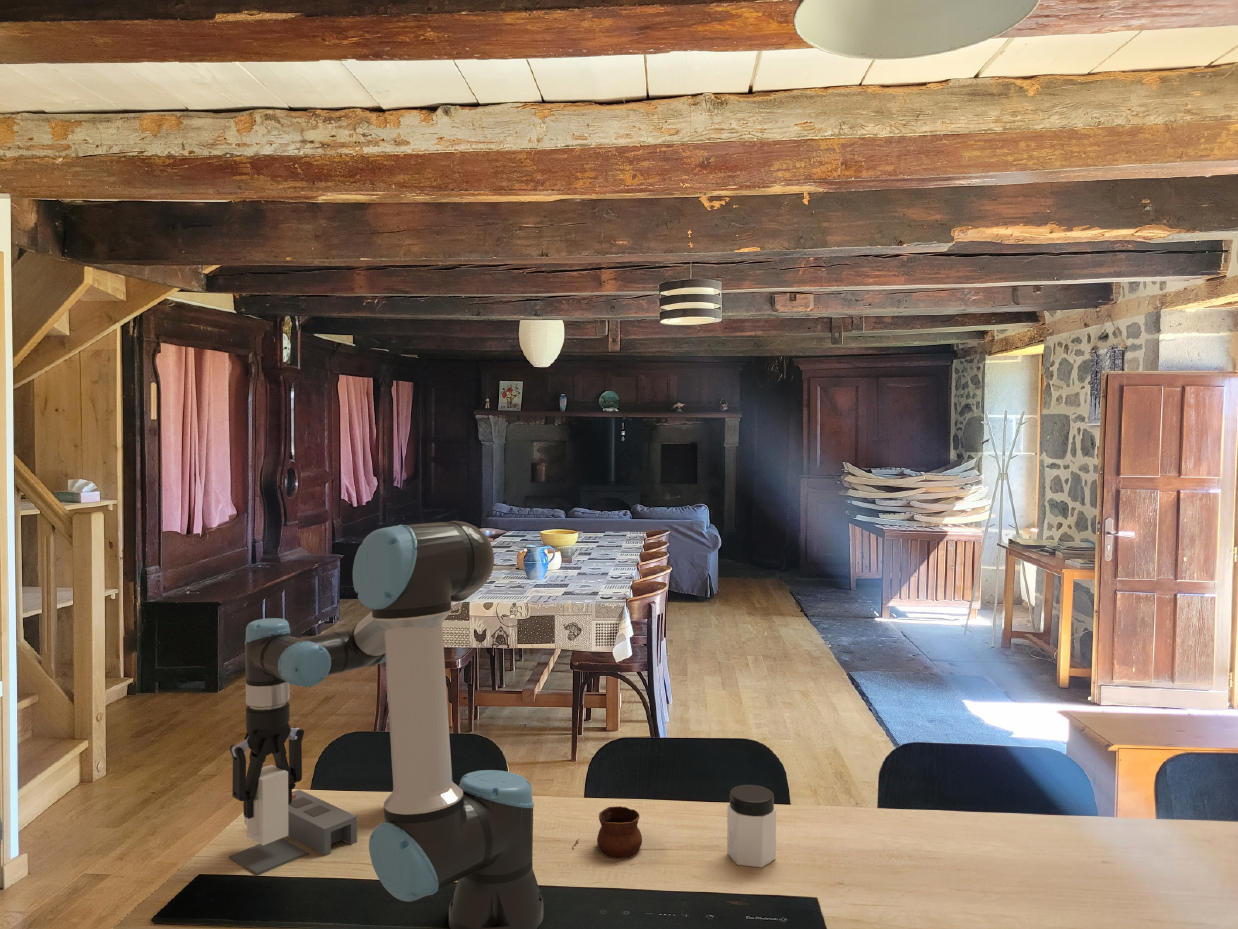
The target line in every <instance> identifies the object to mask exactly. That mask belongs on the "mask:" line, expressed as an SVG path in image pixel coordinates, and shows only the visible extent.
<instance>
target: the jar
mask: <svg viewBox="0 0 1238 929" xmlns="http://www.w3.org/2000/svg"><path fill="white" fill-rule="evenodd" d="M728 798H729V803H728V804H727V813H726V814H727V818H726V819H727V820H726V821H727V822H726V823H727V825H726V826H727V830H726V831H727V834H726V835H727V836H726V840H727V841H726V853H727V855H728V856H729V857H730V858H731V859H732V861H734V863H735V864H736V865H737V866H743V867H744V866H745V867H751V868H752V867H753V868H761V869H762V868H764V867H766V866H767V865H768V864H770V863H771V862H773V861H774V860H776V858H777V857H776V854H777V853H776V852H777V851H776V850H777V847H776V846H777V809H776V808H775V803H774V802H775V795H774V792H773V791H772V790H771V789H769V788H767V787H765V786H761V785H756V784H741V785H737V786H734V787H733V788H731V790H730V792H729V797H728Z"/></svg>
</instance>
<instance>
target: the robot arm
mask: <svg viewBox="0 0 1238 929" xmlns="http://www.w3.org/2000/svg"><path fill="white" fill-rule="evenodd" d="M494 553H495V552H494V549H493V545H492V543H491V541H490V540H489V537H488V536H487V535H486V534H485V533H484V532H483V531H482V530H481V529H480V528H478V527H477V526H475V525H473V524H470V523H468V522H465V521H458V520H449V521H448V520H447V521H442V522H441V521H439V522H429V523H415V524H398V525H392V526H388V527H383V528H382V527H381V528H378V529H376V530H373V531H371V532H370V533H369V534H368V535H366V537H365V538H364V539H363V540H362V543H361V544H360V545H359V547H358V549H357V551H356V554H355V556H354V561H353V565H352V567H353V568H352V583H353V589H354V592H355V593H356V594H357V599H358V602H360V604H362V605H363V606H364V607H365V608H368V609H370V610H371V611H370V612H369V613H368V614H367V615H366V616H365V617H363V618H362V619H361V620H360V621H359V622H357V623H356V624H355V625H354V626H352V627H350V628H347V629H344V630H338V631H333V632H327V633H323V634H317V635H312V636H308V637H302V638H301V637H294V636H292V635H291V630H290V629H291V627H290V624H289V622H288V620H286V619H285V618H278V617H277V618H276V617H274V618H273V617H272V618H271V617H270V618H260V619H256V620H253V621H251V622H249V623H248V624H247V625H246V628H245V641H244V647H245V648H244V653H245V654H244V656H245V658H244V659H245V704H246V708H245V727H246V733H245V736H244V738H243V741H241V742H239V743H237V744H231V745H230V747H229V752H230V754H231V756H232V789H231V790H232V793H231V794H232V798H233V799H236V800H237V801H240V802H242V803H243V816H244V817H246V818H248V832H249V833H250V834H252V835H254V836H258V835H259V799H257V798H255V796H256V792H257V787H258V783H259V778H260V774H261V770H262V768H263V765H264V763H265V761H266V757H268V756H269V755H271V754H272V757H273V759H274V764H275V766H276V767H277V768H279V769H282V770H285V771H287V772H288V804H291V802H292V792H293V790H294V789H295V788H296V783H299V782H301V781H302V780H303V764H302V762H303V760H302V759H303V756H302V754H303V753H302V751H303V749H302V747H303V746H302V743H303V739H304V734H305V730H304V729H302V728H299V727H297V726H293V727H291V726H290V720H291V717H290V716H291V715H290V713H291V712H290V706H291V705H290V703H289V700H290V698H291V691H290V689H291V688H290V687H291V686H290V685H292V686H294V685H295V686H296V687H303V688H312V687H315V686H316V685H319V683H321V682H322V681H324V680H326V678H327V677H330V676H333V675H334V676H335V675H337V674H340V673H345V672H350V671H354V670H358V669H364V668H370V667H374V666H377V665H380V664H382V663H385V669H386V670H385V672H386V687H387V688H386V690H387V705H388V722H389V737H390V753H391V754H390V755H391V756H390V757H391V769H392V770H391V771H392V792H391V793H389V795H388V796H387V797H386V799H385V800H384V802H383V816H384V821H382V822H380V823H379V824H377V826H375V827H374V828H373V829H372V832H371V834H370V837H369V839H368V840H369V841H368V851H369V857H370V861H371V866H372V868H373V870H374V872H375V874H376V877H377V878H378V880H379V881H380V883H381V884H382V886H383V887H384V888H385V890H386V891H387V892H388V893H389V894H390V895H392V896H393V897H394V898H396V900H400V901H403V902H407V903H409V902H414V901H418V900H420V899H422V898H424V897H426V896H431V895H432V896H433V895H434V894H436V893H437V891H440V890H442V889H443V888H446V887H447V886H450V885H451V884H453V883H455V884H456V885H455V888H454V892H453V897H452V898H451V901H450V903H449V906H448V926H449V928H450V929H538V928H539V927H540V925H541V924H542V922H543V919H544V899H543V896H542V893H541V891H540V887H539V884H538V881H537V878H536V875H535V871H534V868H533V867H534V866H533V855H534V853H533V847H534V846H533V843H534V842H533V841H534V839H533V838H534V834H533V833H534V808H535V804H534V802H533V788H532V784H531V783H530V781H529V780H528V779H527V778H525V777H524V776H523V775H520V774H518V773H514V772H511V771H505V770H497V769H496V770H495V769H486V770H485V769H484V770H476V771H472V772H467V773H466V774H464V775H463V776H462V777H461V779H460V781H459V784H458V785H457V784H456V783H454V781H453V773H452V772H453V770H452V759H451V758H452V757H451V755H452V754H451V743H450V739H451V738H450V728H449V711H448V709H449V708H448V695H447V694H448V693H447V679H446V665H445V664H446V663H445V648H444V634H443V629H444V628H443V624H444V621H445V620H446V619H447V617H448V616H449V615H450V614H451V612H452V603H460V602H464V601H466V600H467V599H468V598H469V597H471V596H472V595H474V594H475V593H476V592H478V591H479V590H480V589H481V588H483V586H484V585H485V584H486V583H487V582H488V581H489V579H490V577H491V575H492V573H493V569H494V565H495V555H494ZM287 740H288V757H287V750H286V745H285V743H286V741H287ZM247 748H248V749H250V753H249V763H248V768H247V757H246V755H247V754H248V751H247V750H248V749H247ZM287 758H288V759H287ZM244 817H243V818H244Z"/></svg>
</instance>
